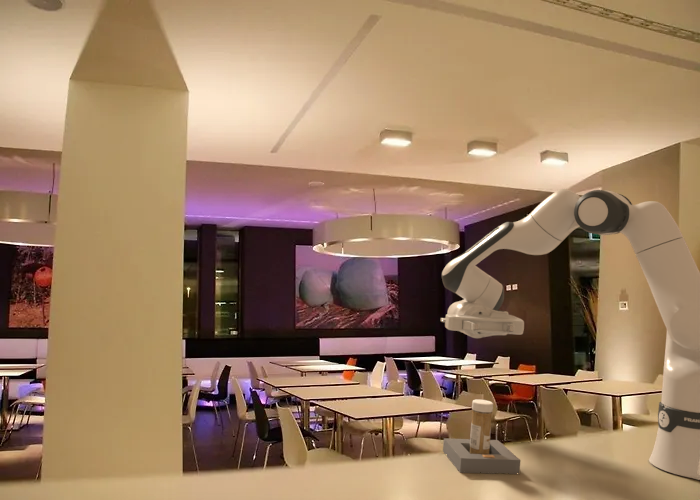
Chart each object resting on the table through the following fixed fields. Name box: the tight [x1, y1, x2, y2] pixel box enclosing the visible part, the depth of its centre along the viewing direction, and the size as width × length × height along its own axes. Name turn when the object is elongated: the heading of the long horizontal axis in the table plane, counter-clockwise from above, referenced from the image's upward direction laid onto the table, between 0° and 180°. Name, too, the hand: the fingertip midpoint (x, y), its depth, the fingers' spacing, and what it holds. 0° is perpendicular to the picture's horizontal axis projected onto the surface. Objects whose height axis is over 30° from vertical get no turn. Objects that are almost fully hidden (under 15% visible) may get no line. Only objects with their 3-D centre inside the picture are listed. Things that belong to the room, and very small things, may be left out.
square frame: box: [442, 438, 521, 475], centre depth 133 cm, size 13×13×3 cm
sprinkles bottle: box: [469, 399, 494, 454], centre depth 134 cm, size 5×5×13 cm
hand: (494, 328), depth 149 cm, fingers open, 8 cm apart
